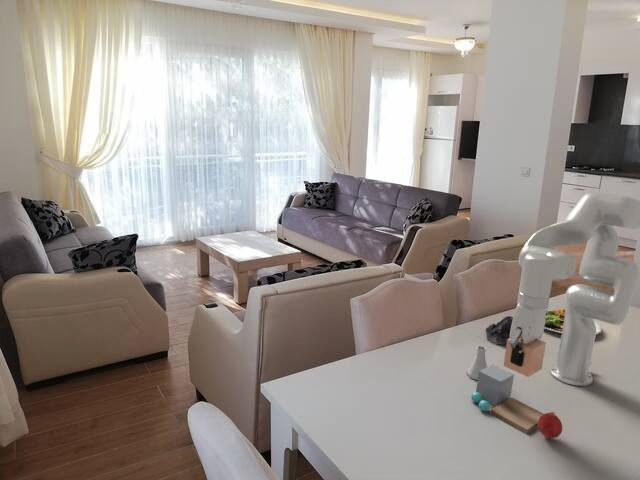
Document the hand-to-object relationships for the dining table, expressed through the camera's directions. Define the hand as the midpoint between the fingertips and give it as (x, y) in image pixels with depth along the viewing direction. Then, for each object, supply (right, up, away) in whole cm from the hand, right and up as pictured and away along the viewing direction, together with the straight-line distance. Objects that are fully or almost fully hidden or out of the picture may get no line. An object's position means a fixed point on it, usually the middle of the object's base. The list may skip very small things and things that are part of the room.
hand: (523, 359), depth 131 cm
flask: (-4, -12, +25) cm, 28 cm away
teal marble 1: (-10, -12, +9) cm, 18 cm away
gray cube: (-4, -14, +13) cm, 20 cm away
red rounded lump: (+4, -20, -5) cm, 21 cm away
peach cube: (0, -2, +1) cm, 2 cm away
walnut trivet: (0, -17, +4) cm, 17 cm away
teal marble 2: (-9, -13, +5) cm, 17 cm away
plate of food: (+45, -3, +68) cm, 82 cm away
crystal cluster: (+14, -6, +53) cm, 55 cm away
